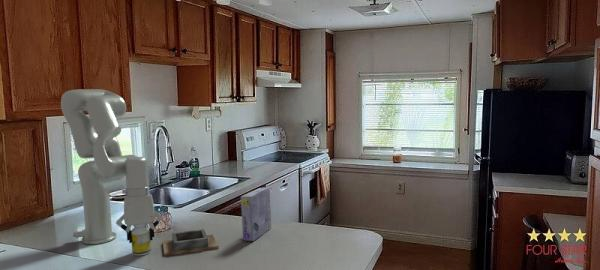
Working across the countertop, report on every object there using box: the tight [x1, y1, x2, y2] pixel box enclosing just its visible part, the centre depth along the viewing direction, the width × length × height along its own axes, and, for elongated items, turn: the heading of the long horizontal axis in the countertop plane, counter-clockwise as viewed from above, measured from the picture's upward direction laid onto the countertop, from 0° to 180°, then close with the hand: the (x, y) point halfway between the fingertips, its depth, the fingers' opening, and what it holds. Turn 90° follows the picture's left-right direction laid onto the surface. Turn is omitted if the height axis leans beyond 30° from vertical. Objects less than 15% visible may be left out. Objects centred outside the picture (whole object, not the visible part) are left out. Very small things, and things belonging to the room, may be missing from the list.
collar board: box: [162, 228, 219, 257], centre depth 161 cm, size 19×14×4 cm
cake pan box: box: [240, 186, 272, 243], centre depth 172 cm, size 19×5×18 cm, turn 160°
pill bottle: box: [130, 223, 152, 257], centre depth 154 cm, size 6×6×12 cm
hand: (141, 240), depth 155 cm, fingers closed on pill bottle, 6 cm apart
